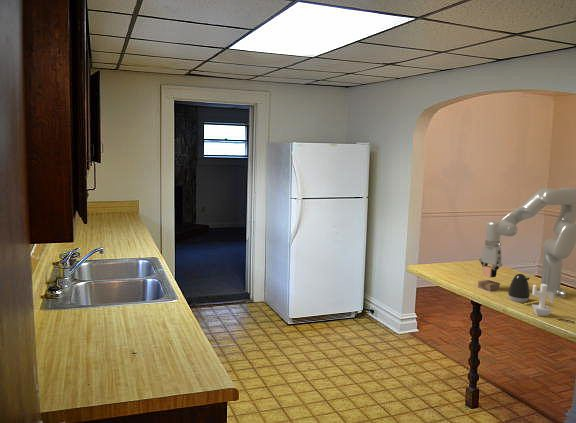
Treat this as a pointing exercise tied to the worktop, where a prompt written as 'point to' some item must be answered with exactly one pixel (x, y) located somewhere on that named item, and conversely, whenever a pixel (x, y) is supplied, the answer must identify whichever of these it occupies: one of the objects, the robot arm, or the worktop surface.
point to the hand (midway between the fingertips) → (489, 275)
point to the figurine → (542, 300)
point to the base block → (488, 285)
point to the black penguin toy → (519, 289)
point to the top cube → (487, 271)
